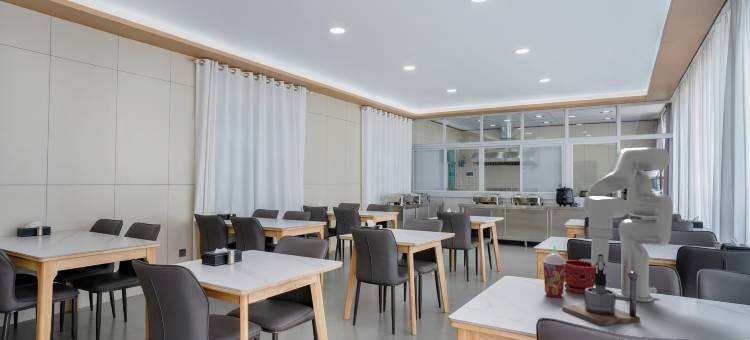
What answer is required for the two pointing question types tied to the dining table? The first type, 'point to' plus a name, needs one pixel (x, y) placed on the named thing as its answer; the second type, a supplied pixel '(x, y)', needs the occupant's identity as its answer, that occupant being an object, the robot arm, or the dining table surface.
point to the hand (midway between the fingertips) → (600, 282)
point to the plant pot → (579, 276)
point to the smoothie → (554, 274)
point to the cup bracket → (606, 306)
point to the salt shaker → (600, 290)
